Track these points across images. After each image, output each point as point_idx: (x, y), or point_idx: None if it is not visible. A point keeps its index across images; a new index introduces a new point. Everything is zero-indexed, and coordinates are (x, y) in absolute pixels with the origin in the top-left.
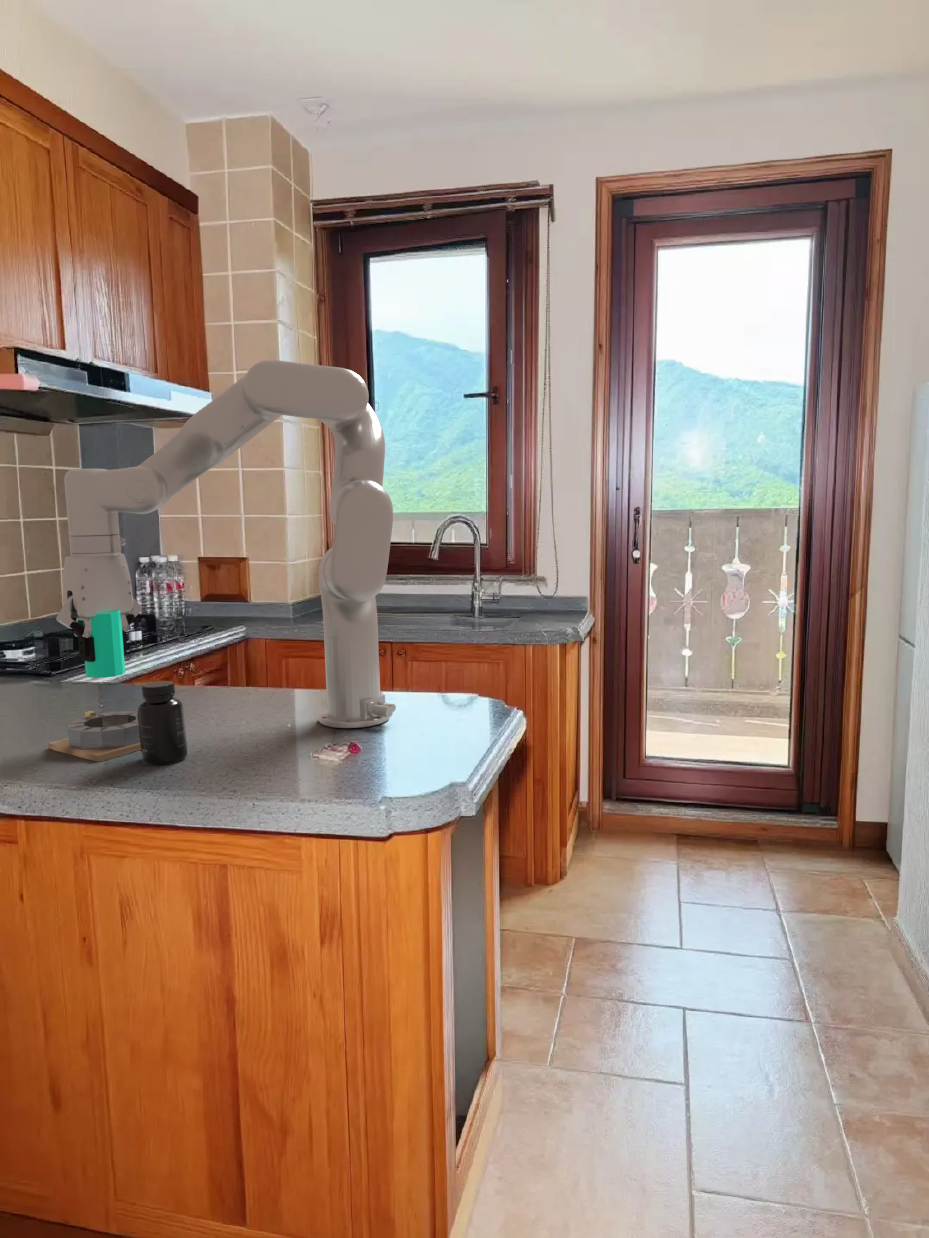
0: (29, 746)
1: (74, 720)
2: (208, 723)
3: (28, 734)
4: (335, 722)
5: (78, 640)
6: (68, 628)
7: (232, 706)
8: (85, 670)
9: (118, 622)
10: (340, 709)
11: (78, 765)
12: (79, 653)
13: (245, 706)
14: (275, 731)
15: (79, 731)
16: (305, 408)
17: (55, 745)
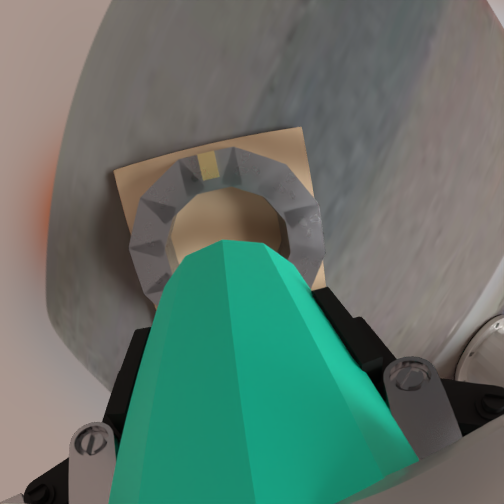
0: (97, 119)
1: (163, 175)
2: (417, 229)
3: (131, 22)
4: (458, 378)
5: (103, 422)
6: (39, 481)
7: (485, 154)
8: (161, 297)
9: None
10: (473, 381)
11: (135, 321)
12: (118, 373)
13: (492, 174)
14: (426, 345)
15: (143, 290)
16: None
17: (120, 198)
